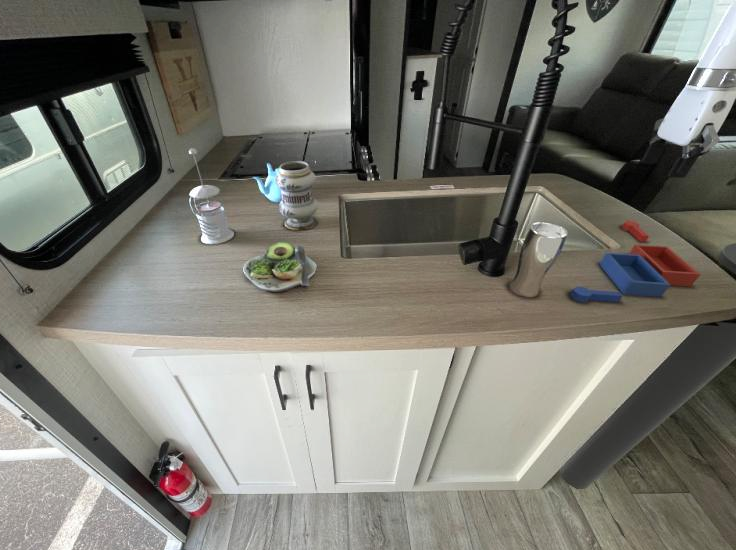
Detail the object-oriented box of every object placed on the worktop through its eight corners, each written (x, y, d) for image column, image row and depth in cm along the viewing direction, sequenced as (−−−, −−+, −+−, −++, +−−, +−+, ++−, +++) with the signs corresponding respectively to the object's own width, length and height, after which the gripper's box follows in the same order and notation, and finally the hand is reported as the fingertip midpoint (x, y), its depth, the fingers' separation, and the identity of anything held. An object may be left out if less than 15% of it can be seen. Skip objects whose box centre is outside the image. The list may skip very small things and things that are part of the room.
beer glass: (511, 297, 72) (536, 237, 62) (503, 279, 77) (525, 221, 68) (545, 299, 71) (575, 238, 61) (534, 281, 76) (560, 222, 67)
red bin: (627, 256, 83) (634, 244, 81) (659, 257, 82) (667, 246, 80) (654, 284, 74) (663, 271, 72) (690, 286, 73) (701, 274, 71)
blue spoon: (613, 295, 71) (617, 289, 70) (620, 305, 69) (625, 298, 68) (567, 292, 73) (571, 285, 72) (573, 301, 70) (577, 295, 69)
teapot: (307, 190, 126) (304, 163, 119) (296, 206, 114) (293, 176, 108) (271, 189, 128) (266, 162, 121) (257, 204, 116) (251, 175, 110)
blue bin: (599, 264, 81) (606, 252, 79) (631, 266, 80) (639, 254, 78) (623, 294, 72) (632, 282, 69) (660, 297, 70) (670, 284, 68)
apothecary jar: (286, 235, 98) (277, 174, 86) (278, 218, 107) (269, 162, 95) (324, 227, 101) (320, 168, 89) (313, 212, 110) (308, 156, 98)
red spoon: (649, 242, 88) (653, 236, 87) (635, 241, 89) (639, 235, 88) (632, 226, 95) (635, 221, 94) (619, 226, 96) (622, 220, 95)
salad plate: (336, 279, 79) (335, 263, 76) (270, 307, 72) (267, 291, 69) (296, 247, 92) (295, 232, 89) (237, 269, 84) (233, 253, 81)
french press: (218, 246, 93) (191, 155, 78) (189, 238, 98) (158, 151, 82) (240, 232, 100) (219, 145, 84) (212, 225, 104) (187, 141, 89)
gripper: (777, 84, 56) (708, 183, 67) (703, 74, 69) (655, 158, 80) (728, 85, 57) (667, 182, 68) (664, 75, 70) (622, 158, 81)
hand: (661, 169), depth 74 cm, fingers open, 9 cm apart
